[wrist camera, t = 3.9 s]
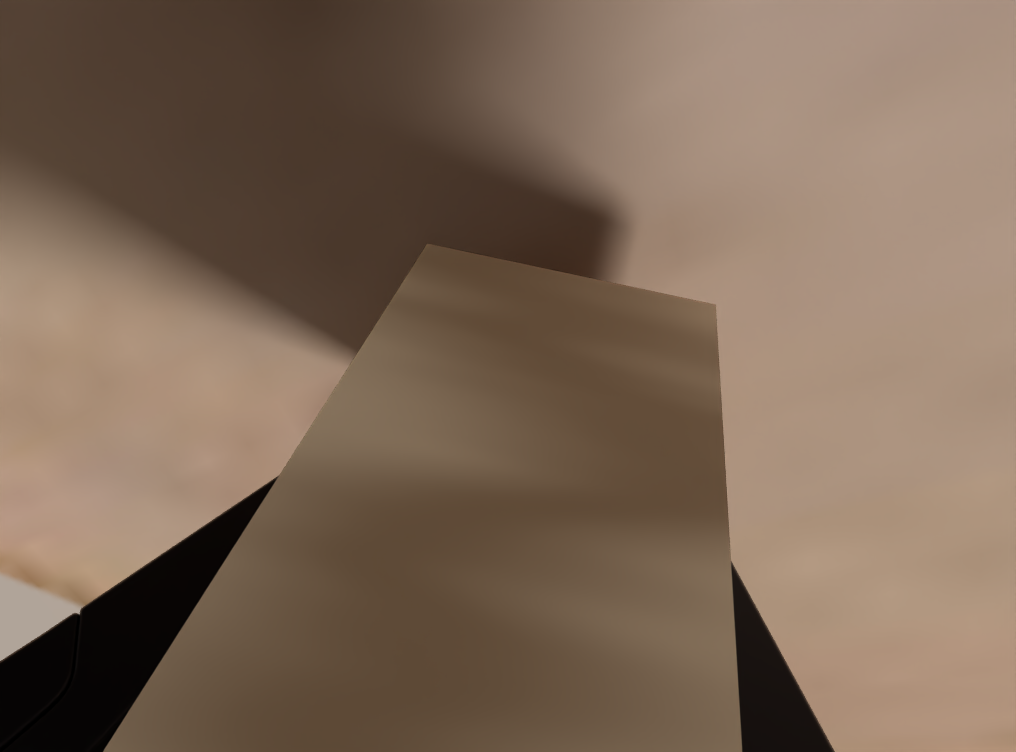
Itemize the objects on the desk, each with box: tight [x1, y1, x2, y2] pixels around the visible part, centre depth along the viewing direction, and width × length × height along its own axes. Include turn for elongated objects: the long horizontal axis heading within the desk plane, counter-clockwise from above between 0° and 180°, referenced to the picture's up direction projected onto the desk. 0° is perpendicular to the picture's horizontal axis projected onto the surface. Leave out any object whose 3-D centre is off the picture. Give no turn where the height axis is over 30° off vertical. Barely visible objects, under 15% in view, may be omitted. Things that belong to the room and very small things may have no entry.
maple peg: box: [103, 244, 742, 752], centre depth 8 cm, size 4×4×8 cm
